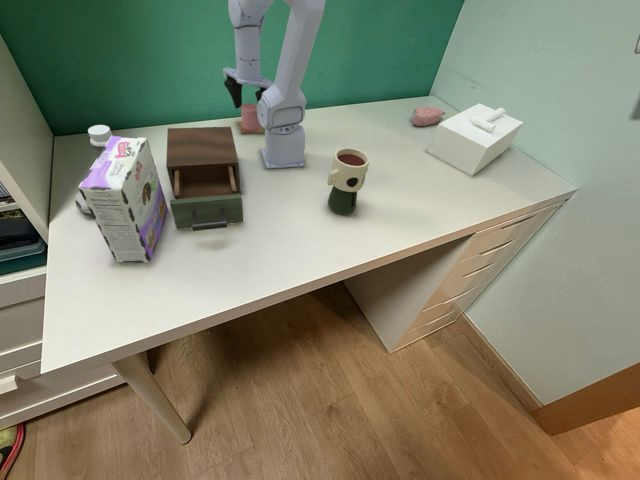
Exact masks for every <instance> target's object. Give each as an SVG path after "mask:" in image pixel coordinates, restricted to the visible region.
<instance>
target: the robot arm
mask: <svg viewBox="0 0 640 480" xmlns="http://www.w3.org/2000/svg"><path fill="white" fill-rule="evenodd" d="M282 1H283V2H284V3H286V4H287V5H288V6H289V7H290V11H289V15H288V19H287V23H286V24H287V25H286V29H285V33H284V38H283V43H282V47H281V52H280V57H279V60H278V65H277V69H276V73H275V79H274V81H271V80H270V79H268V78H266V77H264V76H263V75H261V37H262V35H263V26H264V25H265V19H266V15H265V14H266V12H267V11H268V10H269V8H270V7H271V6H272V5H273V3H274V2H275V0H228V2H227V8H228V17H229V20H230V23H231V25H232V26H233V30H234V31H233V32H234V48H235V49H234V50H235V64H236V65H235V66H236V68H232V67H228V66H227V67H225V68H222V77H223V78H225V79H226V80H224V81H223V84H224V86H225V88H226V89H227V91H228V93H229V95H230V97H231V100H232V103H233V105H234V108H235V109H236V110H237V109H239V108H241V106H242V105H243V100H242V99H243V95H242V94H243V85H250V86H253V87H256V88H259V89H257V91H256V90H255V92H254V94H255V98H256V102H257V104H256V105H257V117H258V120H259V123H260V124H261V127H262V129H264V148H265V149H264V148H263V149H261V155H262V158H263V161H264V165H265V168H266V169H281V168H282V169H283V168H285V169H286V168H297V167H300V168H301V167H304V166H305V163H304V159H305V150H306V149H305V148H306V131H305V128H304V126H303V125H302V124H301V123H302V122H303V121H304V120H305V115H306V105H307V99H306V96H305V94H304V93H303V91H302V90H301V87H302V83H303V80H304V77H305V74H306V71H307V68H308V65H309V61H310V58H311V55H312V52H313V48H314V45H315V43H316V38H317V36H318V32H319V29H320V26H321V22H322V20H323V16H324V12H325V6H326V1H327V0H282Z"/></svg>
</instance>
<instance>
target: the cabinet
mask: <svg viewBox="0 0 640 480" xmlns="http://www.w3.org/2000/svg"><path fill="white" fill-rule="evenodd" d="M237 153H238V152H237V147H236V144H235V140H234V134H233V130H232V127H231V126H203V127H168V128H167V137H166V161H165V162H166V163H165V167H166V172H167V175H168V179H169V182H170V186H171V191H172V194H173V198H174V199H175V196H174V191H175V169H186V168H203V167H220V166H232V168H233V174H234V179H235V185H236V190H237V194H242V193H241V192H242V191H241V180H240V163H239V158H238V154H237Z"/></svg>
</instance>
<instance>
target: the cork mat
mask: <svg viewBox="0 0 640 480" xmlns="http://www.w3.org/2000/svg"><path fill="white" fill-rule="evenodd" d="M259 125H260V127H259V128H258V129H257V130H246V129H244V128H243V127H242V120H241V121H238V127H239V130H240V131H239V132H240V134H241V135H251V134H252V135H254V134H255V135H258V134H259V135H260V134H264V130H263V127H262V126H261V124H260V123H259Z"/></svg>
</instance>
